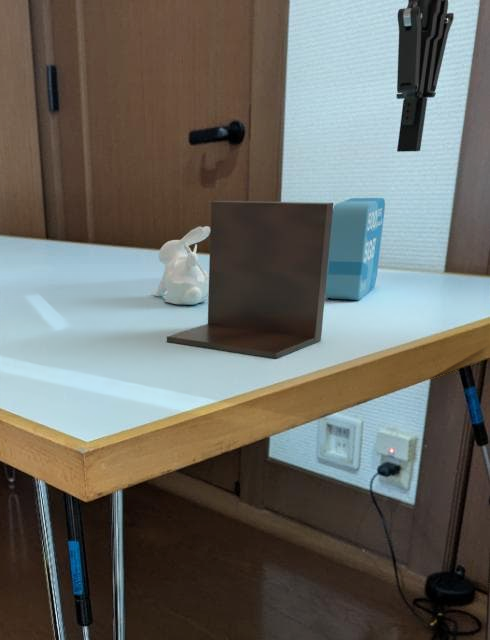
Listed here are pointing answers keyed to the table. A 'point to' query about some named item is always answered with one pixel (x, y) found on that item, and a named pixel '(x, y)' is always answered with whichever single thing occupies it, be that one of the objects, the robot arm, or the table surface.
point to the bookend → (265, 277)
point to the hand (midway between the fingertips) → (408, 151)
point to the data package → (354, 247)
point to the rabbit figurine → (183, 270)
